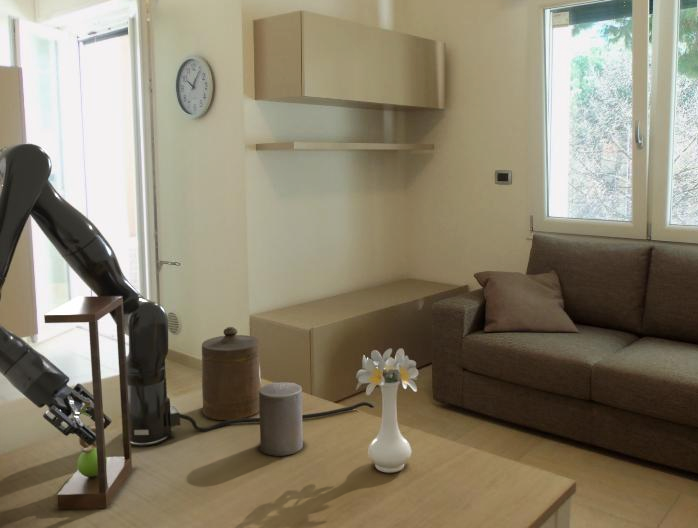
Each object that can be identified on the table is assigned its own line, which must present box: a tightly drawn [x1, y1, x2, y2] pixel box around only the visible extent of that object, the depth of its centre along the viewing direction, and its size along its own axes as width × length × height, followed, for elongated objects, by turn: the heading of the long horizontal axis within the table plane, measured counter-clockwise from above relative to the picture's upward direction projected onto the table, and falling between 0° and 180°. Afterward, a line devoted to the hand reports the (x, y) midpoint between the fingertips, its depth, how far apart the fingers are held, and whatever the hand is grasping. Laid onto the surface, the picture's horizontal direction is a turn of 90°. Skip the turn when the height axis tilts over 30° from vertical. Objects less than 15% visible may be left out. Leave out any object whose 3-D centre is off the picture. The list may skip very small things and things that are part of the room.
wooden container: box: [201, 326, 262, 421], centre depth 177 cm, size 15×15×22 cm
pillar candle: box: [258, 381, 304, 457], centre depth 155 cm, size 10×10×15 cm
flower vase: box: [355, 348, 420, 474], centre depth 145 cm, size 13×18×25 cm
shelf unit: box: [43, 295, 133, 511], centre depth 135 cm, size 9×16×38 cm, turn 3°
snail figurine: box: [76, 411, 107, 477], centre depth 136 cm, size 5×6×12 cm
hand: (101, 433), depth 136 cm, fingers open, 7 cm apart
